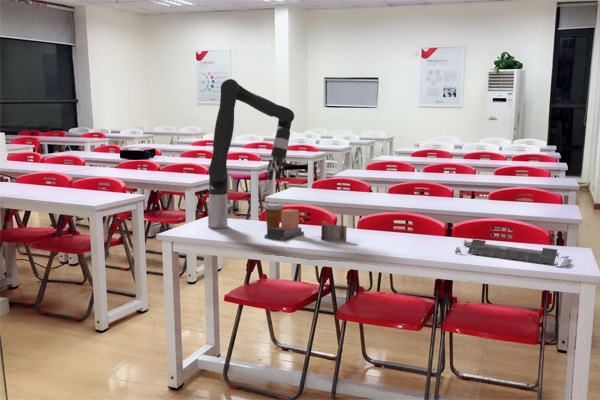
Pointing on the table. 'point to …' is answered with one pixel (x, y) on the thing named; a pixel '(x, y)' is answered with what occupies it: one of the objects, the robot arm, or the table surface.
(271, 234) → the rail base
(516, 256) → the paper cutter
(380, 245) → the table surface
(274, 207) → the disposable coffee cup
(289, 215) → the salmon pink block
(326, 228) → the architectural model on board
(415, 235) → the table surface
